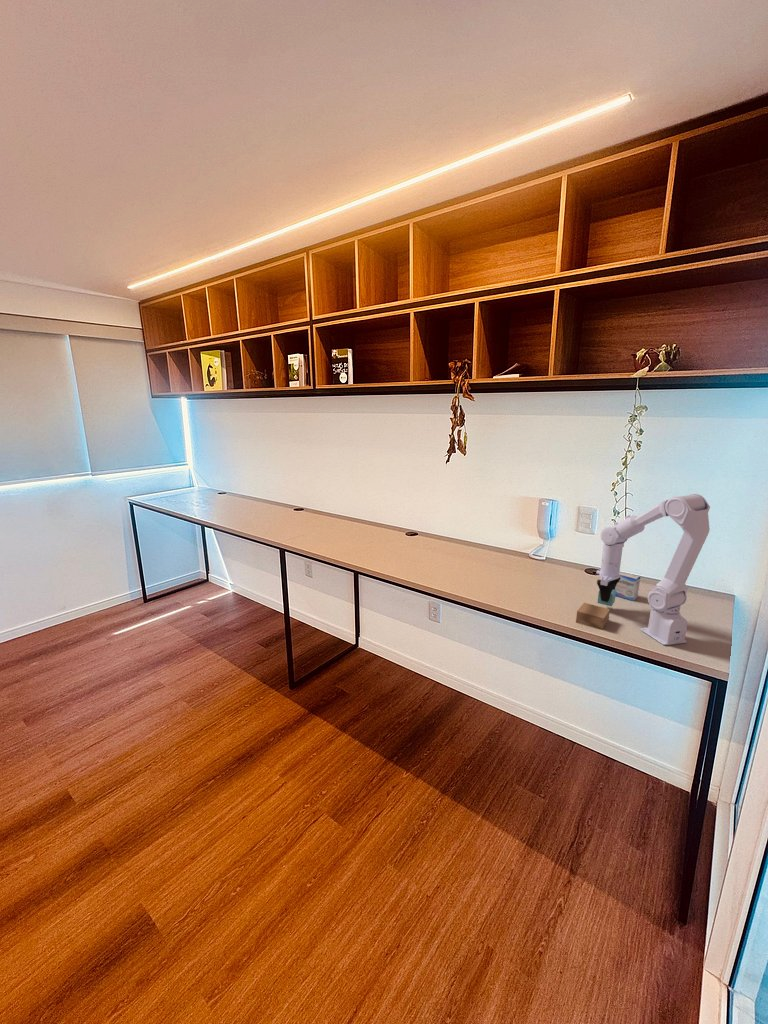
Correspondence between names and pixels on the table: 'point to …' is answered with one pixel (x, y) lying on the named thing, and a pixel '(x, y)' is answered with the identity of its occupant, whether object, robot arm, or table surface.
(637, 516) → the robot arm
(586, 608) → the walnut block
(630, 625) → the table surface
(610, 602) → the teal cube
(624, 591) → the medicine box
